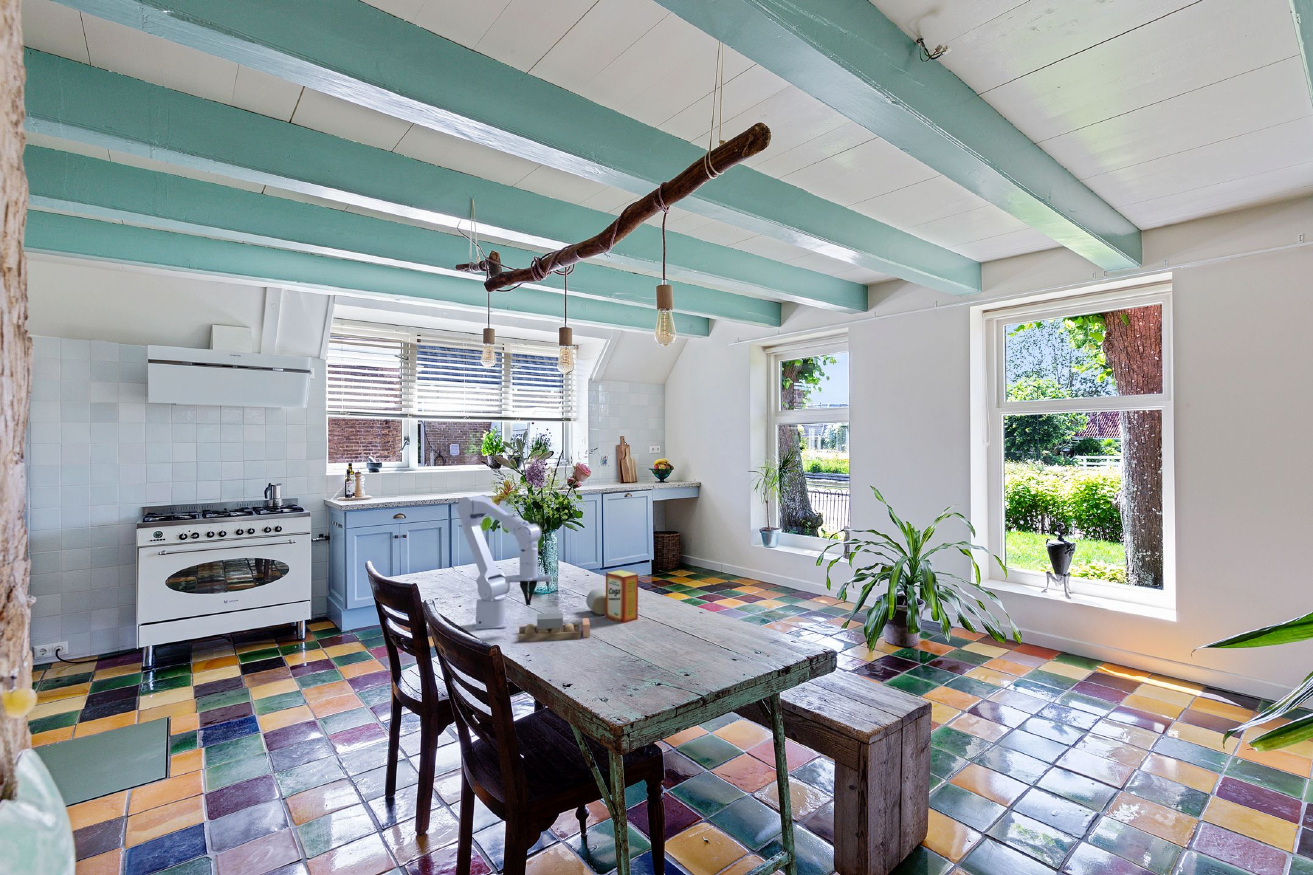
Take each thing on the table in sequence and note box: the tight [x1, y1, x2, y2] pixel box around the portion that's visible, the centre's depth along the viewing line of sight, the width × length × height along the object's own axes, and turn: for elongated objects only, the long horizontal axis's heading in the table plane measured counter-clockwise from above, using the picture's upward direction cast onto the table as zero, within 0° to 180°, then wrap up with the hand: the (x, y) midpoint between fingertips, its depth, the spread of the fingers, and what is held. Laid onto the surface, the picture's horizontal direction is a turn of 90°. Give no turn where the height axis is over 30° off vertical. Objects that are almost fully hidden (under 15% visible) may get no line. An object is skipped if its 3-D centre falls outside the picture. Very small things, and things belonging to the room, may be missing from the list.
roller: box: [564, 622, 575, 632], centre depth 202 cm, size 6×3×3 cm, turn 11°
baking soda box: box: [605, 569, 639, 624], centre depth 220 cm, size 10×6×16 cm
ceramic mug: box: [585, 588, 606, 616], centre depth 227 cm, size 11×8×8 cm
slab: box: [536, 612, 564, 629], centre depth 200 cm, size 8×6×3 cm
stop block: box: [581, 617, 591, 638], centre depth 202 cm, size 2×7×4 cm, turn 10°
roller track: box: [517, 623, 581, 643], centre depth 200 cm, size 19×9×3 cm, turn 101°
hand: (528, 604), depth 203 cm, fingers closed
